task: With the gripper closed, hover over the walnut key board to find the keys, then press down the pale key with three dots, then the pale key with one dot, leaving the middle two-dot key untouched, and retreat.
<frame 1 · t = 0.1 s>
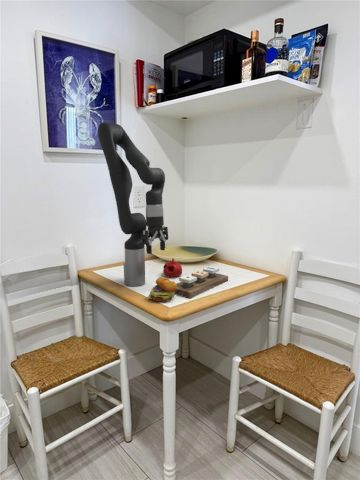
hand: (156, 251, 146), 17 cm above the table, fingers open, 8 cm apart
key board: (199, 286, 154), on the table
key one: (188, 281, 146), point 4 cm above the table, slide at 0.0 cm
key three: (211, 272, 160), point 4 cm above the table, slide at 0.0 cm
pomegranate: (172, 276, 169), on the table
key two: (200, 276, 153), point 4 cm above the table, slide at 0.0 cm
cheeseburger: (163, 298, 139), on the table
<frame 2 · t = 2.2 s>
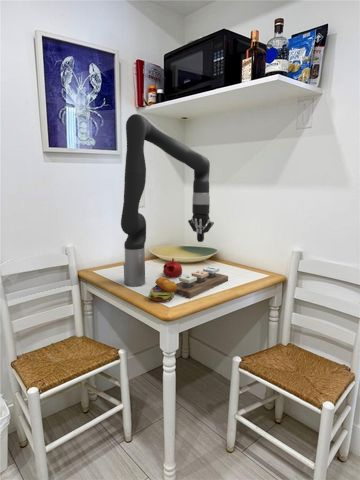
hand: (200, 241, 150), 21 cm above the table, fingers closed
nothing on the table moved.
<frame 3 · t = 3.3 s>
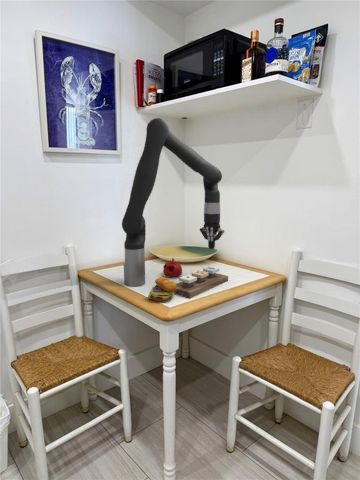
hand: (211, 248, 157), 16 cm above the table, fingers closed
nothing on the table moved.
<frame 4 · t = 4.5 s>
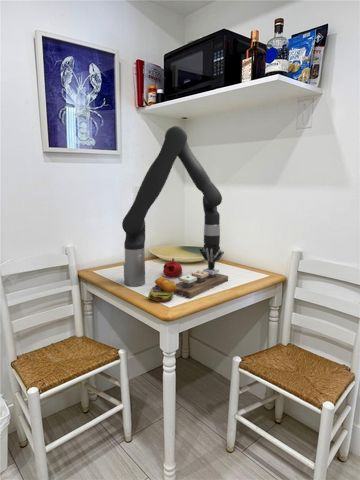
hand: (211, 269, 159), 6 cm above the table, fingers closed
key three: (211, 273, 160), point 4 cm above the table, slide at 0.5 cm, touching gripper
everything else where it was.
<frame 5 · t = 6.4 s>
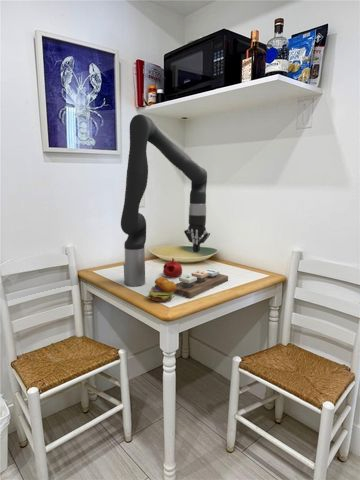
hand: (196, 252, 149), 16 cm above the table, fingers closed
key three: (210, 275, 160), point 3 cm above the table, slide at 1.3 cm
everything else where it was.
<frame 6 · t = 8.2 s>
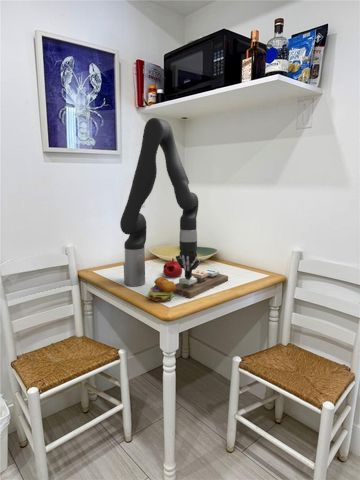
hand: (188, 278, 146), 6 cm above the table, fingers closed
key one: (188, 283, 146), point 4 cm above the table, slide at 0.6 cm, touching gripper
everything else where it was.
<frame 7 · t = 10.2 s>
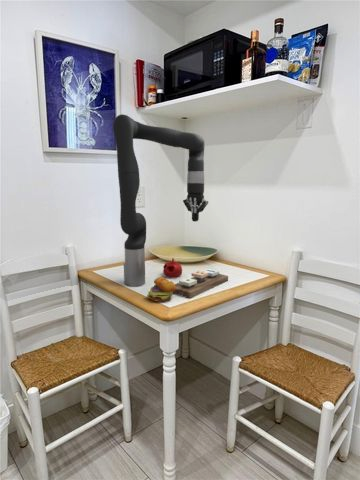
hand: (195, 221, 150), 30 cm above the table, fingers closed
key one: (188, 284, 146), point 3 cm above the table, slide at 1.3 cm
everything else where it was.
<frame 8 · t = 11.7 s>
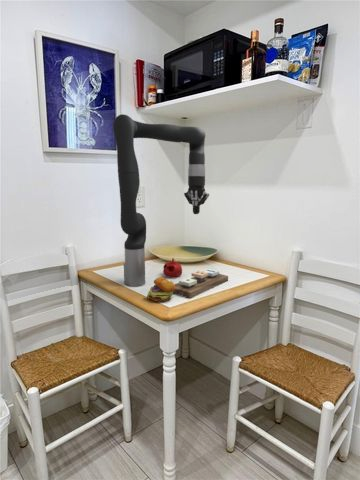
hand: (196, 213, 151), 33 cm above the table, fingers closed
nothing on the table moved.
at the end: key three slide at 1.3 cm; key one slide at 1.3 cm; key two slide at 0.0 cm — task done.
